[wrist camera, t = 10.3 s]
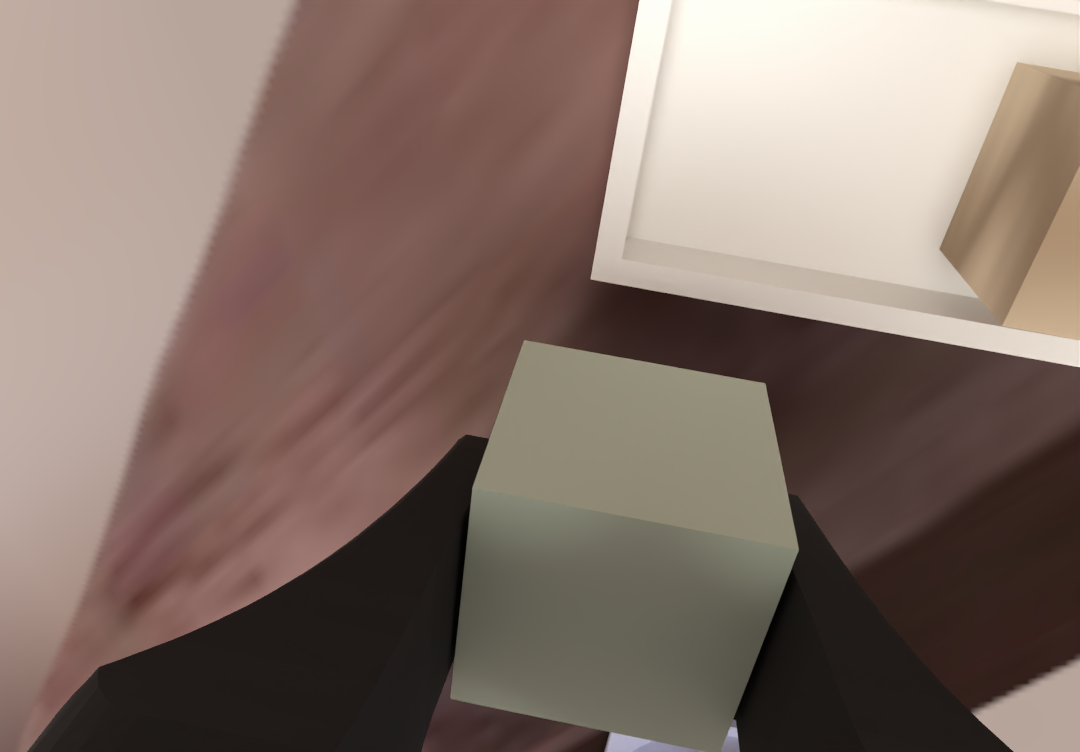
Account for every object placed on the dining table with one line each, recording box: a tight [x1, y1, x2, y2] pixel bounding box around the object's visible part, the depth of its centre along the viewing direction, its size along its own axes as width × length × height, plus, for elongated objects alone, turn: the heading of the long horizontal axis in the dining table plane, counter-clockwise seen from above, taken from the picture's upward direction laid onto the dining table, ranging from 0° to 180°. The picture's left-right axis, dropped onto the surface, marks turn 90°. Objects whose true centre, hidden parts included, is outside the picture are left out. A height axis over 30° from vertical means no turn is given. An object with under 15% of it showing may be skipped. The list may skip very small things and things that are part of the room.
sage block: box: [450, 340, 799, 752], centre depth 12 cm, size 4×4×4 cm
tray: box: [591, 0, 1080, 367], centre depth 17 cm, size 7×13×2 cm, turn 82°
